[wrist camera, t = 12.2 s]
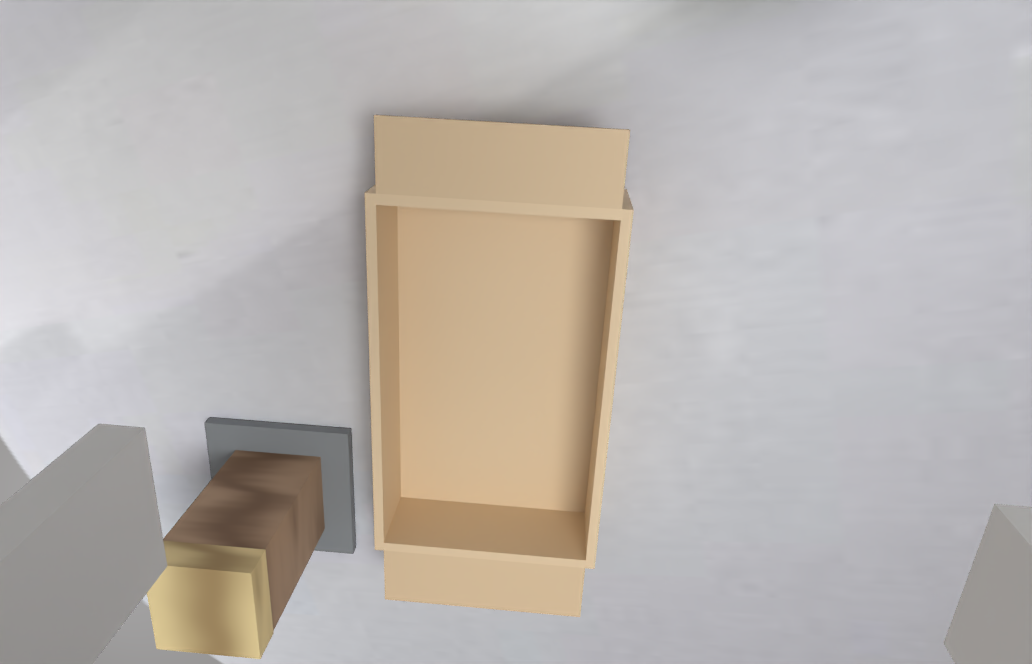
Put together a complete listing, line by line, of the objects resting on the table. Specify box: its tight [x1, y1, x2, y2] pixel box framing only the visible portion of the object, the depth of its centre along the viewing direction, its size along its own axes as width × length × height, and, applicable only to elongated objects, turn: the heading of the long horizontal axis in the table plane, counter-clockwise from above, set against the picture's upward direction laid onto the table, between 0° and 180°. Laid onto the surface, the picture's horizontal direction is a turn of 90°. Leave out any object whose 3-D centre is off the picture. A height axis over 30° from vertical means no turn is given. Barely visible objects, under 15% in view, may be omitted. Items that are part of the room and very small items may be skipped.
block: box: [147, 450, 325, 659], centre depth 47 cm, size 6×6×12 cm
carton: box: [364, 115, 634, 617], centre depth 46 cm, size 31×14×6 cm, turn 177°
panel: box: [205, 417, 356, 554], centre depth 53 cm, size 10×10×1 cm
